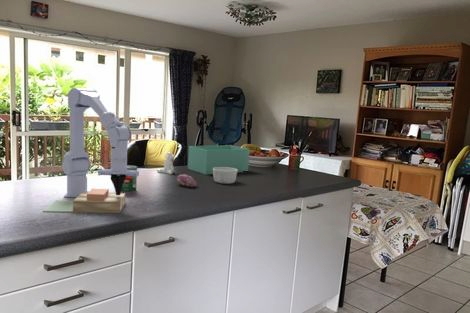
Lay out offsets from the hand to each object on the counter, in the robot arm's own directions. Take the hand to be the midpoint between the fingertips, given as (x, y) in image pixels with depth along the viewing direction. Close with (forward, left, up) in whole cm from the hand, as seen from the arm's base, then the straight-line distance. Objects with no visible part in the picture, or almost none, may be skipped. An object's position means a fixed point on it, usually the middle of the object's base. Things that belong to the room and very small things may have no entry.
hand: (118, 194), depth 145 cm
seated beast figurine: (-77, +16, -5) cm, 79 cm away
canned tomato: (-28, 0, -5) cm, 29 cm away
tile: (0, -7, -1) cm, 7 cm away
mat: (0, -19, -5) cm, 20 cm away
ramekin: (-56, +47, -5) cm, 73 cm away
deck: (0, -6, -5) cm, 8 cm away
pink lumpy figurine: (-43, +26, -5) cm, 51 cm away
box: (-92, +47, -6) cm, 104 cm away
